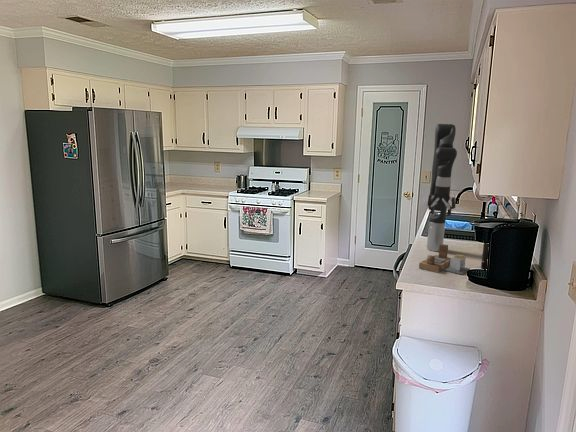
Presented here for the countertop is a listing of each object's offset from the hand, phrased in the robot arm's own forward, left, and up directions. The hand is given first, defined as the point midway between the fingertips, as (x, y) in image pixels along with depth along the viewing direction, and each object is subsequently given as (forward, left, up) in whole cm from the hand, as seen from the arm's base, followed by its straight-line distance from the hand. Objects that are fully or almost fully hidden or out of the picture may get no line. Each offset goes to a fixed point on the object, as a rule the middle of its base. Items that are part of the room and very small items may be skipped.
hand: (440, 214), depth 232 cm
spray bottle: (-5, +27, -26) cm, 38 cm away
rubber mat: (+8, +14, -26) cm, 31 cm away
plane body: (+8, +3, -26) cm, 28 cm away
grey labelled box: (+8, +14, -25) cm, 30 cm away
